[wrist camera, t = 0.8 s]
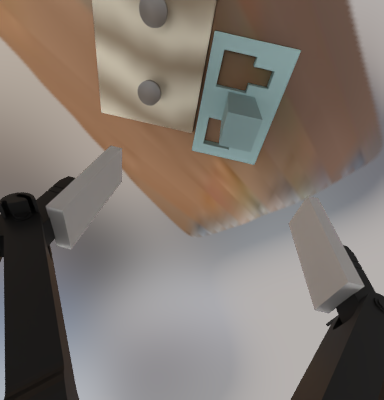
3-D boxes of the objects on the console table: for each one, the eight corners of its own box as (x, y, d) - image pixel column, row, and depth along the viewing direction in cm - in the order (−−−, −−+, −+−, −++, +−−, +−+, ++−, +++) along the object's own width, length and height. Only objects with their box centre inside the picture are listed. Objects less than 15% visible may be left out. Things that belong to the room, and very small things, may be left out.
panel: (215, 30, 26) (208, 31, 18) (297, 49, 26) (328, 58, 18) (193, 146, 35) (181, 181, 27) (253, 160, 35) (260, 199, 27)
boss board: (91, -68, 22) (67, -85, 19) (223, -38, 22) (222, -49, 19) (104, 110, 34) (90, 119, 30) (192, 130, 34) (188, 141, 30)
